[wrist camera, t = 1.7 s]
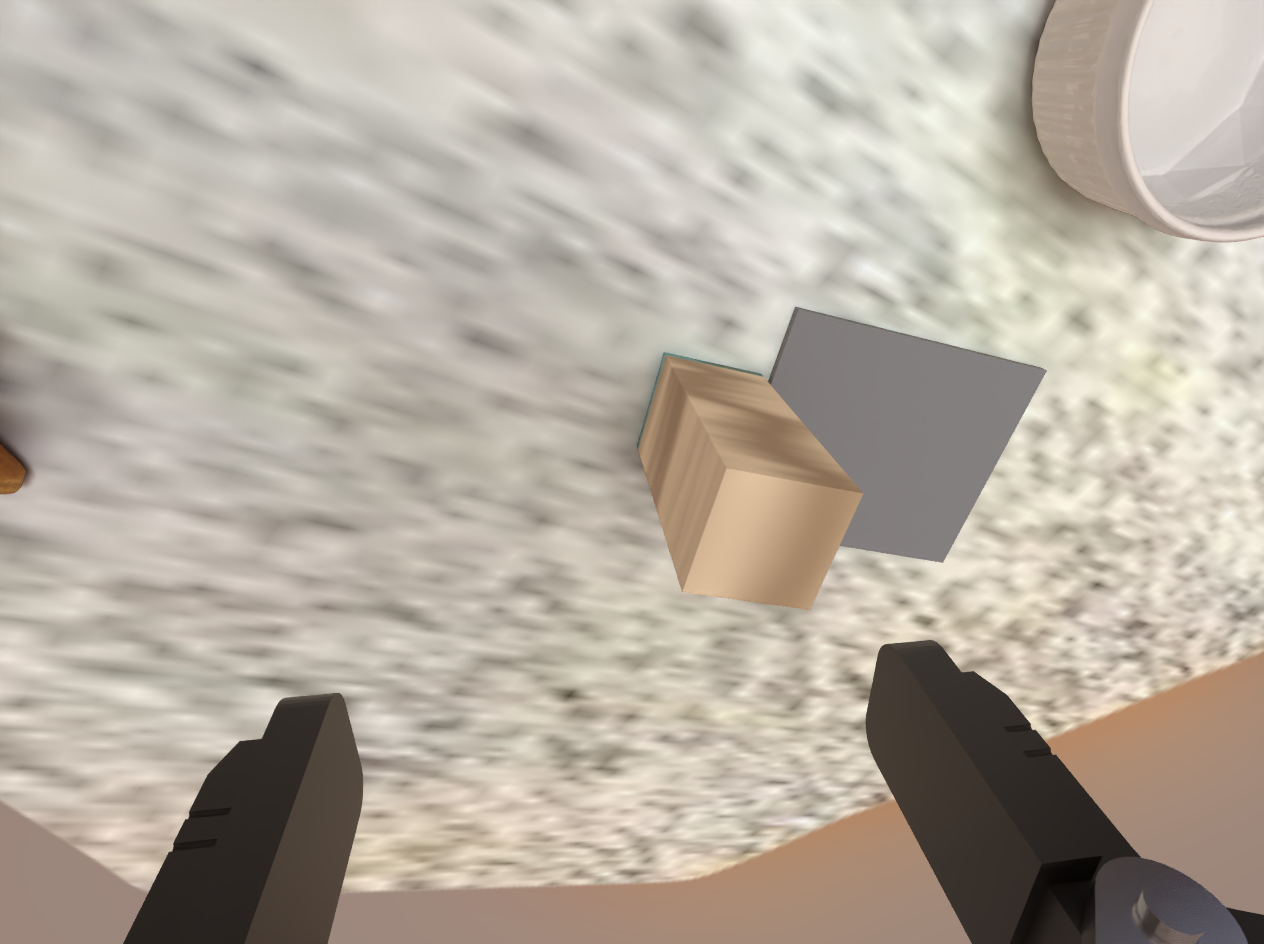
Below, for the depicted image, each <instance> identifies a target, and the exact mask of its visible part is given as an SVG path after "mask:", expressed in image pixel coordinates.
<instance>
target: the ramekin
mask: <svg viewBox="0 0 1264 944" xmlns="http://www.w3.org/2000/svg"><path fill="white" fill-rule="evenodd" d="M1032 85H1033V90H1032V107H1033V121H1034V124H1035V126H1036V131H1037V138H1038V140H1039V142H1040V143H1041V148H1042V151H1043V153H1044V155H1045V156H1046V157H1047V159H1048V162H1049V164H1050V166H1051V167H1052V168H1053V169H1054V170H1055V171H1056V173H1057V175H1058V176H1059V177H1060V178H1061V179H1062V180H1064V181H1065V182H1066V183H1067V184H1068V185H1069V186H1070V187H1071V188H1073V189H1075V190H1077V191H1079V193H1081V194H1082V195H1083V196H1085V197H1087V198H1089V199H1091V200H1094V201H1096V202H1099V203H1101V204H1104V205H1106V206H1108V207H1111V208H1114V209H1116V210H1119V211H1122V212H1125V213H1127V214H1130V215H1133V216H1136V217H1137V218H1138V219H1139V220H1141V221H1143V222H1144V223H1146V224H1147V225H1149V226H1150V227H1152V228H1154V229H1156V230H1159V231H1161V232H1164V233H1167V234H1169V235H1173V236H1177V237H1181V238H1187V239H1194V240H1200V241H1210V242H1238V241H1245V240H1251V239H1256V238H1260V237H1264V0H1056V1H1055V3H1054V6H1053V8H1052V10H1051V12H1050V14H1049V17H1048V19H1047V22H1046V25H1045V28H1044V31H1043V33H1042V36H1041V38H1040V43H1039V48H1038V52H1037V55H1036V59H1035V66H1034V74H1033V80H1032Z"/></svg>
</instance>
